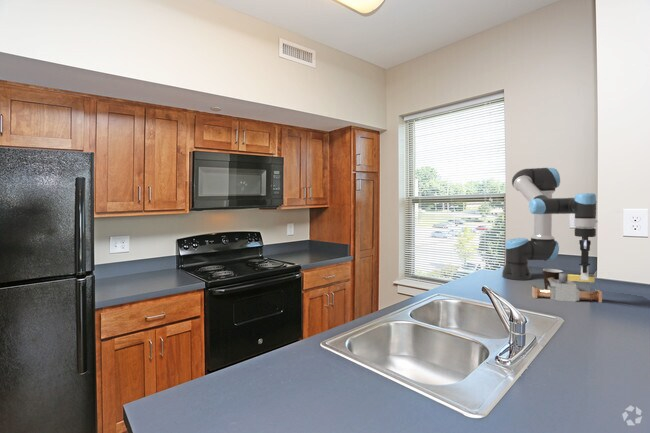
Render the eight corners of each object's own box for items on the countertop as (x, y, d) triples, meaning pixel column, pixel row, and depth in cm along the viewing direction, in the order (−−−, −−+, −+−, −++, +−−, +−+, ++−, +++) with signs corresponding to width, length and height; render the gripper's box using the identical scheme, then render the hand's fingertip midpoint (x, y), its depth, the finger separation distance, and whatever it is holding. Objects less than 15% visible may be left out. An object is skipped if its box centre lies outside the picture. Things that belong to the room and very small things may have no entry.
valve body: (531, 294, 164) (531, 278, 164) (595, 298, 155) (596, 281, 155) (535, 299, 157) (535, 282, 157) (603, 303, 148) (603, 285, 148)
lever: (559, 281, 155) (559, 273, 155) (558, 280, 158) (558, 272, 158) (594, 284, 150) (594, 275, 149) (592, 282, 153) (592, 274, 152)
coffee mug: (538, 288, 174) (538, 269, 173) (548, 286, 177) (549, 268, 177) (562, 294, 163) (562, 274, 163) (572, 291, 167) (573, 272, 166)
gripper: (596, 229, 141) (595, 283, 142) (595, 226, 152) (594, 277, 153) (574, 228, 146) (574, 281, 147) (574, 226, 156) (574, 275, 157)
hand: (584, 279), depth 150 cm, fingers closed
